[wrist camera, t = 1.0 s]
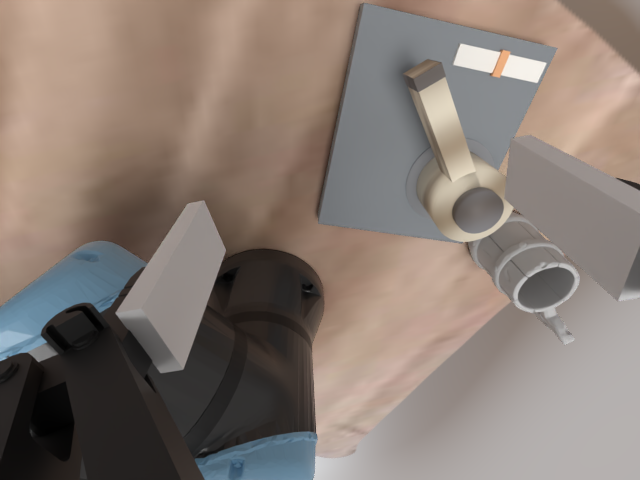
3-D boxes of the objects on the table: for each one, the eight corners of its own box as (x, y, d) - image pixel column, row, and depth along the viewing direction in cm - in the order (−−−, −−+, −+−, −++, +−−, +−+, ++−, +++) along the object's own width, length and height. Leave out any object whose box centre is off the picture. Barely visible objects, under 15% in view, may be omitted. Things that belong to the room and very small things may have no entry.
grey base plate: (455, 234, 40) (464, 246, 38) (317, 214, 38) (318, 225, 36) (543, 47, 30) (561, 48, 28) (360, 4, 28) (365, 2, 26)
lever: (492, 193, 35) (529, 225, 30) (429, 223, 37) (452, 259, 31) (445, 39, 27) (482, 42, 22) (368, 86, 29) (384, 100, 23)
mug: (521, 196, 38) (600, 257, 28) (540, 267, 44) (612, 338, 34) (456, 227, 40) (509, 294, 30) (483, 290, 46) (535, 365, 36)
